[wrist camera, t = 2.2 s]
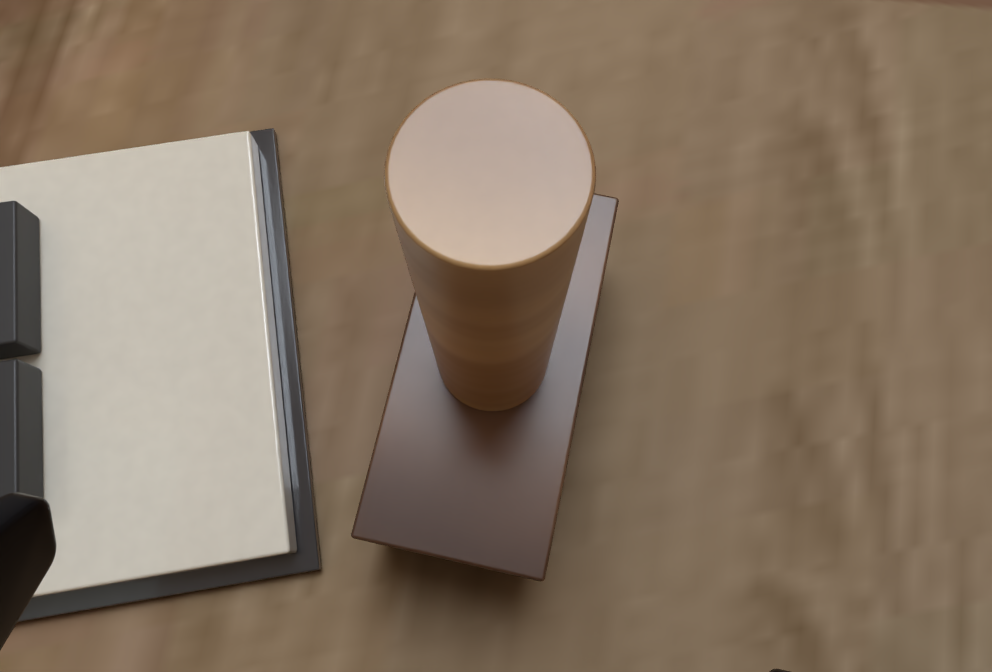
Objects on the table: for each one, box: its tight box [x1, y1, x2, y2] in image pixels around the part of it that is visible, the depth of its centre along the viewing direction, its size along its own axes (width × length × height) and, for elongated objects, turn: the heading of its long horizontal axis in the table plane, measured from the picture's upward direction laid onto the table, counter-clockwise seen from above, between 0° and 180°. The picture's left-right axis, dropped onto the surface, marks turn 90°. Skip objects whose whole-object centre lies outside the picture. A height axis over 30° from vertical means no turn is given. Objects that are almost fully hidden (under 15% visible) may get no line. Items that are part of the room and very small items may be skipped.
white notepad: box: [0, 128, 321, 622], centre depth 22 cm, size 15×13×1 cm
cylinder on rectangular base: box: [351, 79, 619, 581], centre depth 16 cm, size 9×4×13 cm, turn 168°
